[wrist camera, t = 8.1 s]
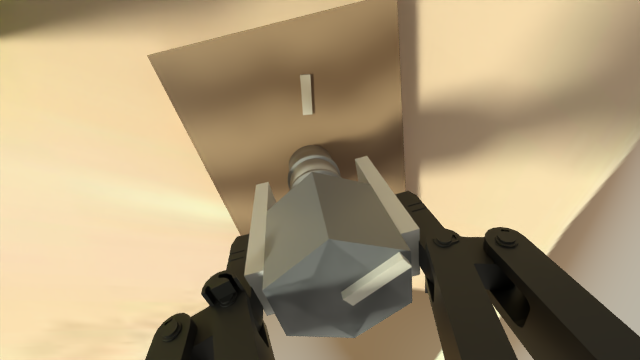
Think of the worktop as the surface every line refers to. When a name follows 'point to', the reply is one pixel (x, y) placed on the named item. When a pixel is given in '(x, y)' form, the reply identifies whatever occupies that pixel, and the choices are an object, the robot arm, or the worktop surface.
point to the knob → (334, 259)
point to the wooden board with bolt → (292, 101)
